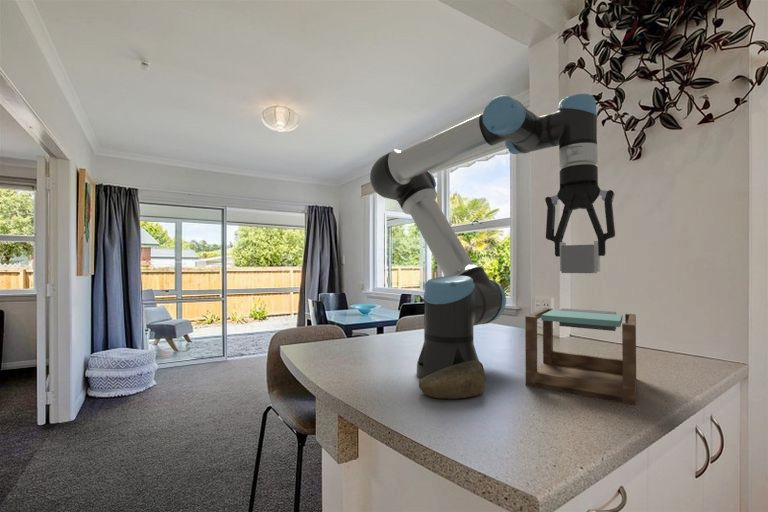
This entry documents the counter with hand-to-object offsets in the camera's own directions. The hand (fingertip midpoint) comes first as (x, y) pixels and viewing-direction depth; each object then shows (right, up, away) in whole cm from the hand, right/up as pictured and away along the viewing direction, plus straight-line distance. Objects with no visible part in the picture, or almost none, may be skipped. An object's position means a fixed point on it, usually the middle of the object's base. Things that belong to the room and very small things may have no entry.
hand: (579, 271), depth 82 cm
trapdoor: (+4, -14, +5) cm, 16 cm away
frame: (+2, -25, +2) cm, 25 cm away
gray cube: (0, 0, 0) cm, 0 cm away
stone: (-29, -25, -6) cm, 39 cm away
